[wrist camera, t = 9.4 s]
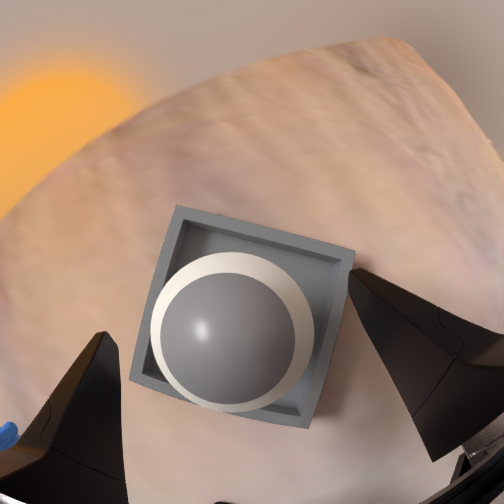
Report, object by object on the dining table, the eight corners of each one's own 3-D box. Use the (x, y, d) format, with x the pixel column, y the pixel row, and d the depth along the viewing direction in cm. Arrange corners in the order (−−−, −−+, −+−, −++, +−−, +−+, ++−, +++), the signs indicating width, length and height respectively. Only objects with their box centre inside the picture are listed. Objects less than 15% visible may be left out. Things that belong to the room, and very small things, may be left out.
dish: (344, 256, 20) (355, 250, 17) (302, 417, 17) (308, 428, 15) (183, 215, 20) (176, 204, 18) (140, 373, 18) (128, 379, 16)
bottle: (286, 294, 18) (347, 267, 7) (267, 364, 17) (296, 448, 6) (215, 276, 19) (161, 218, 7) (197, 345, 18) (115, 395, 6)
